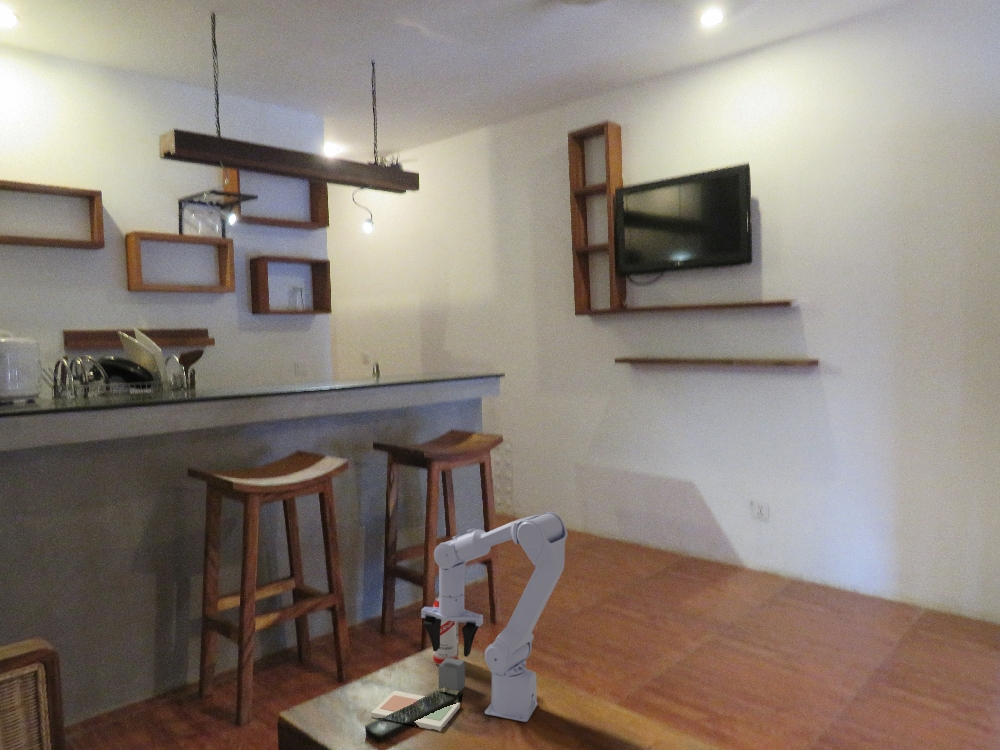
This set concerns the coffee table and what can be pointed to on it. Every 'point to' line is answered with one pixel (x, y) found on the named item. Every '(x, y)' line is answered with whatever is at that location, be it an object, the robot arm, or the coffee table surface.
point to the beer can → (446, 639)
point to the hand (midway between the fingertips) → (451, 652)
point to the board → (403, 699)
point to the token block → (452, 674)
